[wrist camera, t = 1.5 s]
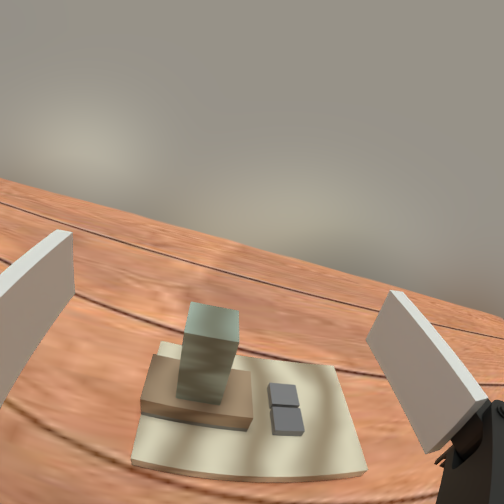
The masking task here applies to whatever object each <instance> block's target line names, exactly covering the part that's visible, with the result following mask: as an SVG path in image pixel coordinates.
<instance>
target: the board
mask: <svg viewBox="0 0 504 504" xmlns="http://www.w3.org/2000/svg"><path fill="white" fill-rule="evenodd" d="M181 351H182V345H178V344H173V343H168V342H164V341H161V343H160V347H159V350H158V353H157V355H160V356H165V357H169V358H174V359H179V360H180V358H181ZM231 369H237V370H244V371H251V387H252V403H253V420H252V422H251V424H250V426H249V428H248V430H247V432H243V431H233V430H224V429H216V428H209V427H202V426H196V425H189V424H184V423H178V422H173V421H168V420H163V419H158V418H154V417H149V416H145V415H141V417H140V421H139V425H138V429H137V433H136V438H135V442H134V446H133V451H132V455H131V462H132V465H136V466H140V467H144V468H148V469H153V470H158V471H163V472H168V473H173V474H179V475H185V476H192V477H199V478H207V479H217V480H228V481H242V482H308V481H322V480H333V479H342V478H350V477H357V476H361V475H363V474H364V473H365V472H366V471H367V470H368V468H367V465H366V462H365V458H364V455H363V452H362V449H361V446H360V443H359V440H358V437H357V434H356V430H355V427H354V424H353V421H352V418H351V415H350V412H349V409H348V406H347V404H346V401H345V398H344V395H343V392H342V389H341V386H340V383H339V380H338V377H337V375H336V372H335V369H334V366H328V365H316V364H304V363H294V362H285V361H276V360H268V359H261V358H253V357H246V356H240V355H235V358H234V361H233V365H232V368H231ZM269 383H280V384H292V385H296V390H297V394H298V399H299V404H300V406H299V407H298V408H300V409H301V414H302V419H303V424H304V429H305V432H304V433H303V435H302V436H277V435H272V428H271V419H270V410H271V409H269V401H268V392H267V387H268V385H269Z"/></svg>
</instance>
